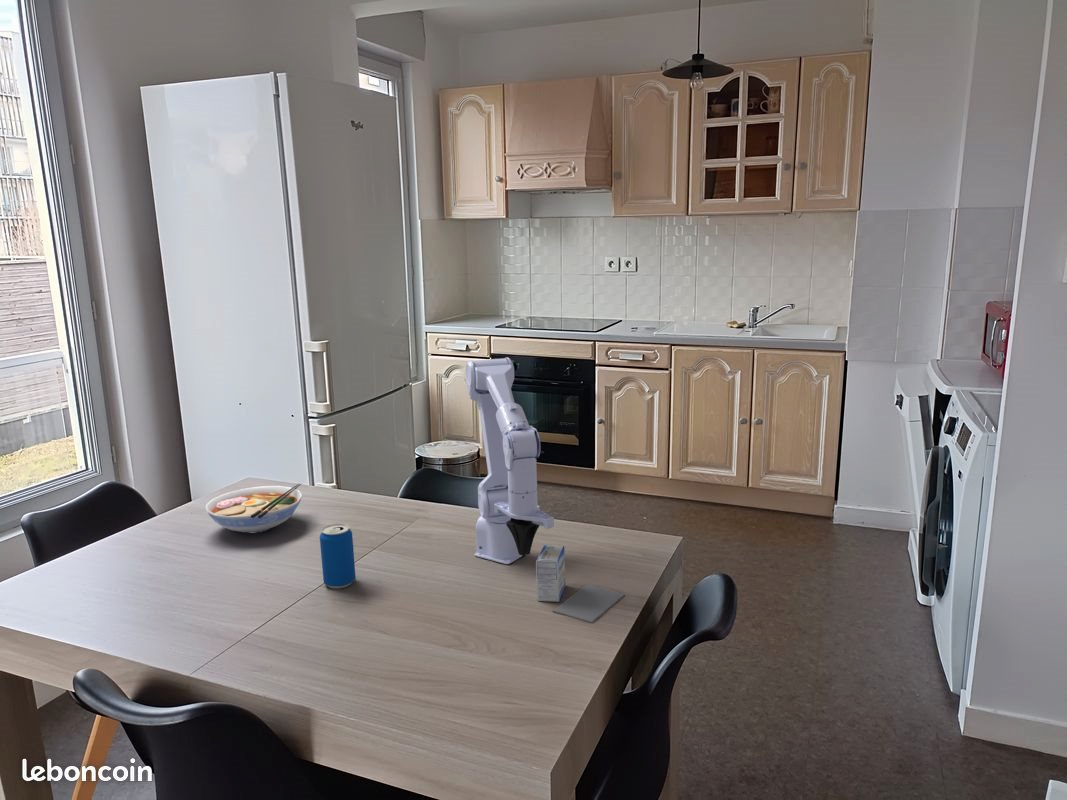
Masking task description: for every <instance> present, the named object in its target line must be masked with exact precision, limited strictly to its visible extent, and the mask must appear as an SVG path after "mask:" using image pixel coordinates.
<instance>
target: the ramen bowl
mask: <svg viewBox="0 0 1067 800" xmlns="http://www.w3.org/2000/svg"><path fill="white" fill-rule="evenodd" d="M301 485H302V483H297V484H296V485H295V486H293V487H291V486H283V485H282V486H281V485H261V486H253V487H245V488H240V489H236V490H232V491H228V492H226V493H223V494H220V495H218V496H216V497H213V498H211V499H210V500H209V501H208V502H207V503H206V504H205V505H204V506H205V511H206V513H207V515H208V516H209V517H210V518H211V519H212V520H213V521H214V522H215V523H216V524H218V525H219V526H222V528H225V529H228V530H230V531H233V532H242V533H245V532H260V533H262V532H261V531H264V532H266V531H265V530H267V531H269V530H271V529H273V528H274V527H277V526H279V525H281V524H283V523H285V522H286V521H287V520H288V519H289V518H291V516H292V515H293V514H294V512H295V511H296V509H297V508H298V506H299V505H300V504H301V503H300V502H301V501H302V498H303V494H302V492H301V489H300V490H299V489H298V488H299V487H300V486H301ZM270 528H271V529H270ZM268 529H269V530H268Z"/></svg>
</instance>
